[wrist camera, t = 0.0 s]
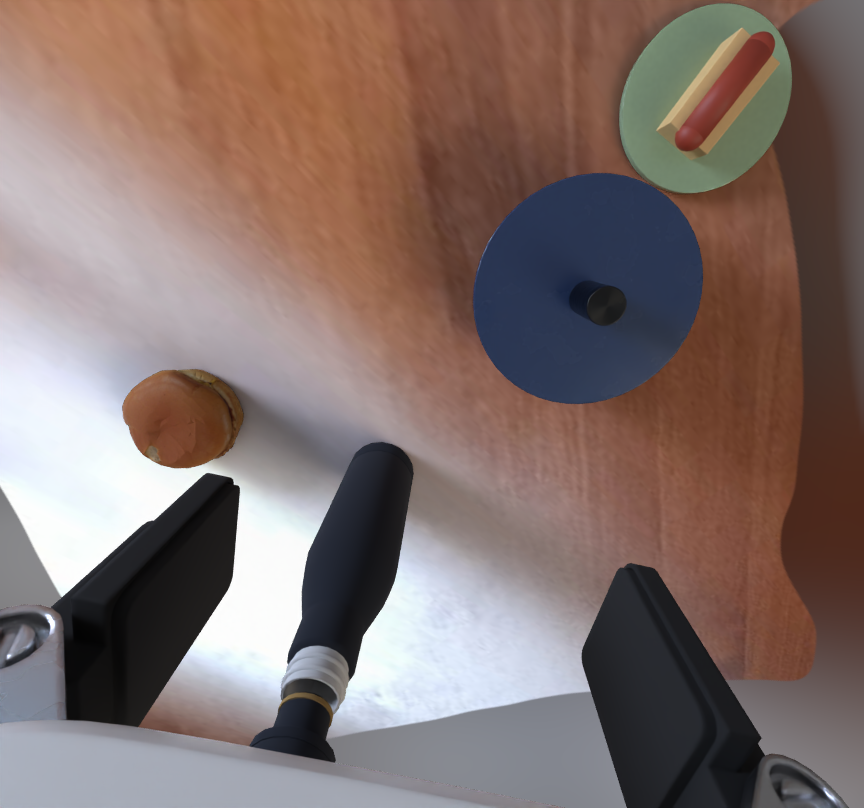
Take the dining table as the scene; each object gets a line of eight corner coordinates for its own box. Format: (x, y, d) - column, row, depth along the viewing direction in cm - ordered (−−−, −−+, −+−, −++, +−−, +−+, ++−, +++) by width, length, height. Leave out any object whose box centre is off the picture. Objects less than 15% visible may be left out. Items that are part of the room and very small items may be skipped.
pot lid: (505, 150, 30) (516, 129, 24) (733, 205, 30) (793, 197, 25) (450, 374, 35) (450, 397, 30) (645, 418, 35) (679, 449, 30)
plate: (654, -11, 31) (658, -17, 31) (816, 30, 32) (823, 26, 31) (596, 174, 35) (599, 173, 35) (741, 209, 36) (746, 209, 35)
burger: (252, 384, 43) (229, 400, 38) (235, 466, 46) (211, 489, 41) (151, 349, 42) (115, 362, 38) (140, 435, 45) (106, 455, 41)
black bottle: (390, 430, 44) (275, 769, 15) (425, 480, 45) (381, 869, 17) (337, 461, 45) (143, 825, 17) (374, 508, 47) (254, 912, 18)
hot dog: (729, 32, 32) (758, 9, 29) (765, 66, 32) (797, 47, 29) (648, 139, 34) (668, 129, 31) (683, 169, 34) (706, 161, 31)
